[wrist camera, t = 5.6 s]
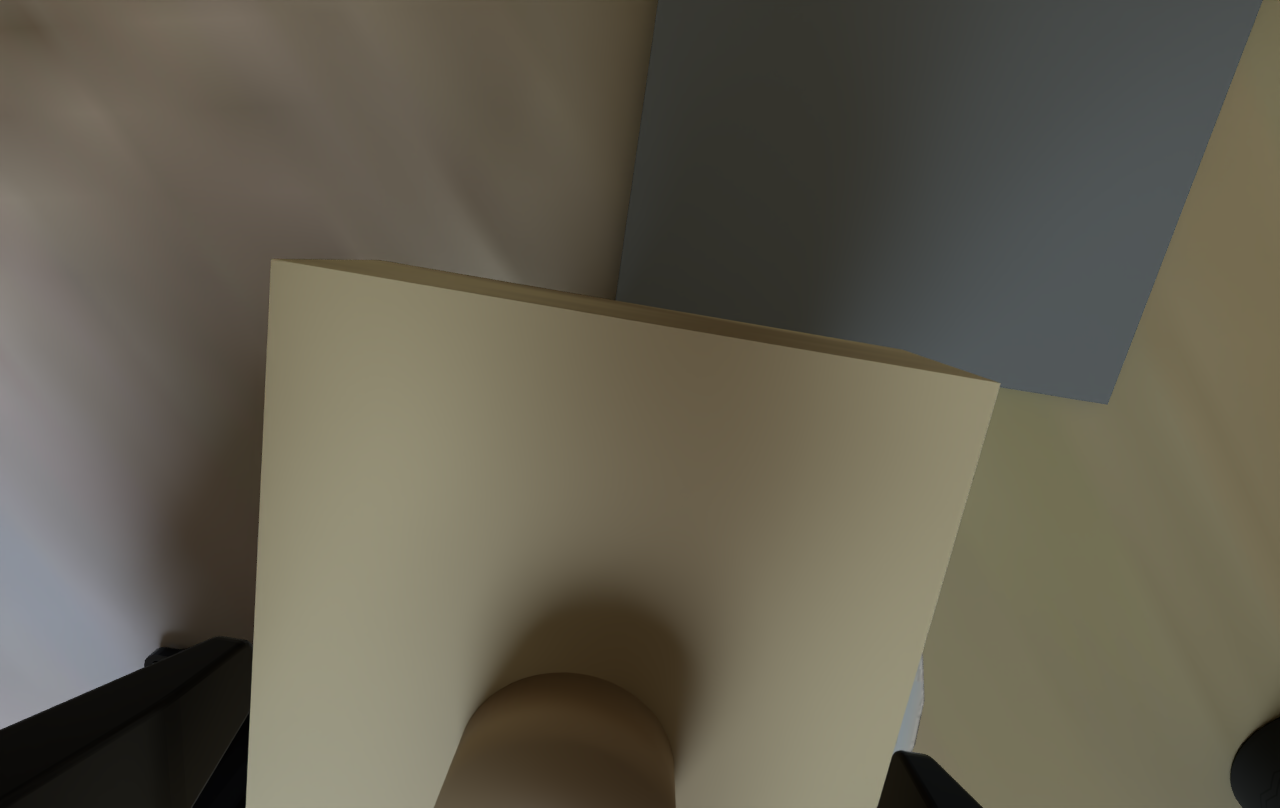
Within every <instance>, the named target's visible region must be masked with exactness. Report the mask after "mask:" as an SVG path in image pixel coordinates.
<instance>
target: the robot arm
mask: <svg viewBox="0 0 1280 808" xmlns="http://www.w3.org/2000/svg"><path fill="white" fill-rule="evenodd" d="M252 661H253V646H252V644H251V643H250V642H248V641H247V640H242V639H236V638H230V637H224V636H218V637H214V638H211V639H209V640H206V641H204V642H202V643H199V644H197V645H195V646H193V647H190V648H188V649H186V650H179V649H173V648H167V647H161V648H159V649H156V650H155V651H154V652H153V653H152V654H151V655H149V656H148V657H147V658H146V660H145V664H144V668H142V669H140V670H137V671H135V672H133V673H130V674H128V675H126V676H123V677H121V678H119V679H116V680H114V681H112V682H110V683H107V684H105V685H103V686H100V687H98V688H96V689H93V690H91V691H89V692H86V693H84V694H82V695H80V696H77V697H75V698H73V699H70V700H68V701H66V702H63V703H61V704H59V705H56V706H54V707H52V708H50V709H47V710H45V711H43V712H40V713H38V714H36V715H33V716H31V717H29V718H27V719H24V720H22V721H20V722H17V723H15V724H13V725H10V726H8V727H6V728H3V729H1V730H0V808H246V791H247V769H248V748H249V726H250V704H251V683H252ZM877 808H983V807H982V806H981V805H980V804H979V803H978V802H977V801H976V800H975V799H974V798H973V797H972V796H971V795H970V794H969V793H967V792H966V791H965V790H964V789H963V788H962V787H961V786H960V785H959V784H958V783H957V782H956V781H955V780H954V779H953V778H952V777H951V776H950V775H949V774H948V773H947V772H946V771H945V770H944V769H943V768H942V767H941V766H940V765H939V764H938V763H937V762H936V761H935V760H934V759H933V758H931V757H930V756H928V755H926V754H921V753H915V752H909V751H904V750H899V751H896V752H895V753H894V754H893V755H892V758H891V762H890V765H889V768H888V772H887V775H886V779H885V782H884V786H883V789H882V792H881V796H880V799H879V803H878V806H877Z"/></svg>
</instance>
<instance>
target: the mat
mask: <svg viewBox="0 0 1280 808" xmlns="http://www.w3.org/2000/svg"><path fill="white" fill-rule="evenodd" d="M1262 1H1263V0H658V6H657V13H656V20H655V27H654V34H653V41H652V48H651V55H650V62H649V69H648V76H647V83H646V90H645V97H644V104H643V111H642V118H641V125H640V132H639V139H638V146H637V153H636V160H635V167H634V174H633V181H632V188H631V195H630V202H629V209H628V216H627V223H626V230H625V237H624V244H623V251H622V258H621V265H620V272H619V279H618V286H617V293H616V300H615V301H621V302H627V303H633V304H639V305H645V306H650V307H656V308H662V309H668V310H674V311H680V312H686V313H691V314H697V315H703V316H709V317H715V318H721V319H727V320H732V321H738V322H744V323H750V324H756V325H762V326H768V327H773V328H779V329H785V330H791V331H797V332H803V333H809V334H814V335H820V336H826V337H832V338H838V339H844V340H850V341H855V342H861V343H867V344H873V345H879V346H885V347H890V348H896V349H902V350H905V351H908V352H911V353H914V354H917V355H920V356H922V357H925V358H928V359H931V360H934V361H937V362H940V363H943V364H946V365H949V366H952V367H955V368H958V369H961V370H964V371H966V372H969V373H972V374H975V375H978V376H981V377H984V378H987V379H990V380H993V381H996V382H999V383H1001V384H1000V387H1003V388H1009V389H1015V390H1021V391H1028V392H1034V393H1040V394H1046V395H1052V396H1058V397H1064V398H1070V399H1077V400H1083V401H1089V402H1095V403H1101V404H1107V405H1108V402H1109V399H1110V397H1111V394H1112V391H1113V389H1114V386H1115V384H1116V381H1117V378H1118V376H1119V373H1120V371H1121V368H1122V365H1123V363H1124V360H1125V358H1126V355H1127V352H1128V350H1129V347H1130V345H1131V342H1132V339H1133V337H1134V334H1135V332H1136V329H1137V326H1138V324H1139V321H1140V319H1141V316H1142V313H1143V311H1144V308H1145V305H1146V303H1147V300H1148V298H1149V295H1150V292H1151V290H1152V287H1153V285H1154V282H1155V279H1156V277H1157V274H1158V272H1159V269H1160V266H1161V264H1162V261H1163V259H1164V256H1165V253H1166V251H1167V248H1168V246H1169V243H1170V240H1171V238H1172V235H1173V233H1174V230H1175V227H1176V225H1177V222H1178V219H1179V217H1180V214H1181V212H1182V209H1183V206H1184V204H1185V201H1186V199H1187V196H1188V193H1189V191H1190V188H1191V186H1192V183H1193V180H1194V178H1195V175H1196V173H1197V170H1198V167H1199V165H1200V162H1201V160H1202V157H1203V154H1204V152H1205V149H1206V147H1207V144H1208V141H1209V139H1210V136H1211V133H1212V131H1213V128H1214V126H1215V123H1216V120H1217V118H1218V115H1219V113H1220V110H1221V107H1222V105H1223V102H1224V100H1225V97H1226V94H1227V92H1228V89H1229V87H1230V84H1231V81H1232V79H1233V76H1234V74H1235V71H1236V68H1237V66H1238V63H1239V61H1240V58H1241V55H1242V53H1243V50H1244V47H1245V45H1246V42H1247V40H1248V37H1249V34H1250V32H1251V29H1252V27H1253V24H1254V21H1255V19H1256V16H1257V14H1258V11H1259V8H1260V6H1261V3H1262Z"/></svg>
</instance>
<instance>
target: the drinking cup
mask: <svg viewBox="0 0 1280 808" xmlns="http://www.w3.org/2000/svg"><path fill="white" fill-rule="evenodd" d="M1230 780H1231V787H1232V790H1233V793H1234V796H1235V797H1236V799H1237V801H1238V802H1239V804H1240V805H1241V806H1242V807H1243V808H1280V718H1279V719H1277V720H1275V721H1273V722H1271V723H1269V724H1268V725H1266V726H1264V727H1263V728H1261V729H1260V730H1259V731H1257V732H1256V733H1255V734H1254V735H1253V736H1251V737H1250V738H1249V739H1248V740H1247V741H1246V743H1245V744H1244V745H1243V746H1242V748H1241V749H1240V750H1239V752H1238V754H1237V756H1236V757H1235V760H1234V762H1233V765H1232V769H1231V777H1230Z"/></svg>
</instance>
